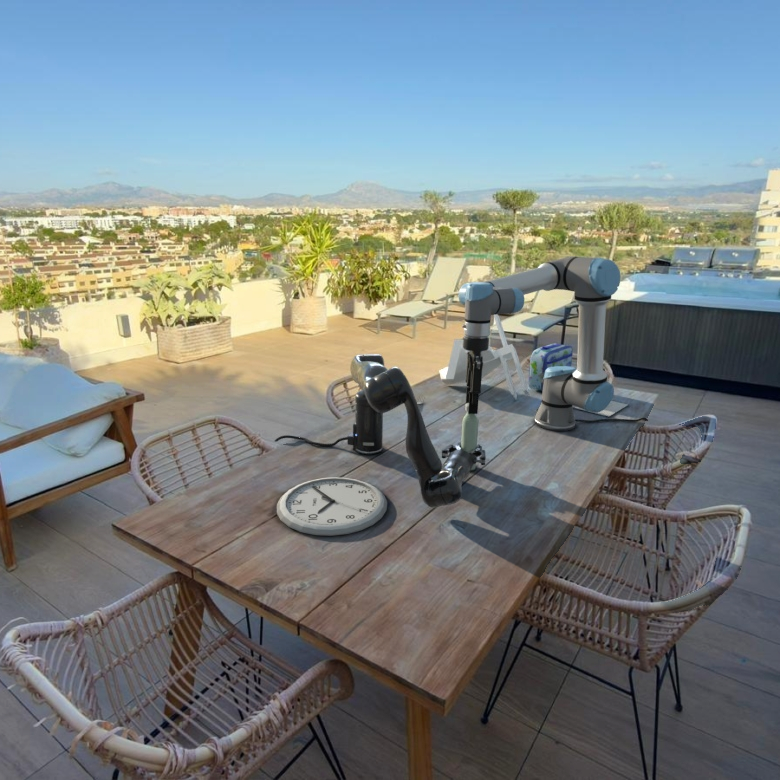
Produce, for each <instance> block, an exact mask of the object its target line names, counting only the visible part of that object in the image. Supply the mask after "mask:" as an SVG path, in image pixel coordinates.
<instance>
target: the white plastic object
mask: <svg viewBox="0 0 780 780" xmlns="http://www.w3.org/2000/svg"><path fill="white" fill-rule="evenodd" d="M493 319H494V321H495V324H496V325H495V326H496V328H497V332H498V335H499V338H500V342H501V345H502V347H500V348H498V349H496V350H495V349H493V348H492V347H491V346H490V344H489V346H488V349H487V350H486V351H482V352H481V356H482V357H483V361H482V362H483V367H482V378H481V382H482V381H484V378H485V377H486V376H487V375H489V374H490V373H492V372H494V371H495V370H496V369H497V368H499V367H500V366H502V370H503V373H504V376H505V380H506V383H507V386H508V390H509V393H510V394H511V395H512V397H513V398H514V399H515V400H517V392H516V391H517V390H516V388H515V385H514V381H513V378H512V375H511V371H510V369H509V365H508V361H510V360H513V363H514V366H515V369H516V372H517V376H518V380H519V382H520V385H521V389H522V391H523V393H524V395H525V396H526V397H528V396H531V395H530V390H529V386H528V384H527V381H526V378H525V375H524V371H523V369H522V368H523V367H522V366H521V362H520V359H519V355H518V352H517V349H516V347H515V346H514V345H513V343H511V344H508V341H507V337H506V334H505V331H504V328H503V325H502V321H501V318H500V315H499V314H496V315H493ZM467 352H470V351H469V350H465V349H464V348H463V338H460V339H458V338H454V340H453V344H452V349H451V353H450V357H449V362H448V366H446V367H444V368H442V369H440V370H439V371H438V372H439V376H440V381H442V383H443V384H444V385H445V386H449V385H458V384H467V383H466V372H467Z"/></svg>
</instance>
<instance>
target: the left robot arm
mask: <svg viewBox="0 0 780 780" xmlns="http://www.w3.org/2000/svg"><path fill="white" fill-rule="evenodd" d="M350 375H351V378H352V380H353V382H355V383H356V384H358V385H359V387H360V389H361V390H359V391H357V392H356V393H355V397H354V402H355V404H354V406H355V408H354V410H355V411H354V412H355V415H354V416H355V417H354V419H355V421H354V423H353V424H352V431H351V433H349V434H348V435H347V436H344V437H340V438H338V439H336V440H335V441H333V442H332V443H322V442H316V441H312V440H311V439H308V438H306V437H301V436H296V435H289V434H288V435H287V434H285V435H281V436H278V437H276V438H275V439H274V442H275V443H276V442H279V441H280V440H283V439H292V440H300V441H304V442H306V443H308V444H311V445H313V446H318V447H334V446H336V445H337V444H339V443H340V442H342V441H347V445H348V446H352V450H353V452H354V451H355V452H357V453H358V454H360V455H366V456H367V455H369V456H370V455H371V456H372V455H377V454H379V453H381V452H383V449H384V448H383V447H384V446H383V439H384V438H383V437H384V436H383V435H384V434H383V433H384V432H383V431H384V428H383V427H384V426H383V425H384V414H385V413H389V412H390V411H391V410H394V409H395V408H397V407H399V406H401V405H403V404H404V406H405V410H406V414H407V415H406V417H407V424H406V425H407V427H406V435H405V451H406V455H407V458H408V459H409V461H410V463H411V465H412V467H413V468H414V470H415V472H416V475H417V478H418V479H417V480H418V483H419V489H420V495H421V499H422V501H423V503H424V504H425V505H426V506H427V507H429V508H433V509H435V508H439V507H444V506H449V505H452V504H456V503H458V502H459V501H460V500H461V499H462V496H463V494H462V493H463V492H462V487H463V486H462V484H463V483H464V482H465V480H466V479H467V477H468V476H469V475H470V473H471V471H472V470H471V468H472V467H473V465H474V464H477V463H478V464H480V465H481V466H485V465H486V458H487V457H486V456H487V455H486V450H485V449H483V446H482V445H481V444H480V443H479V444H478V443H477V447H476V449H472V450H470V451H464V450H461V441H460V442H458V443H456V444H455V445H453V444H449V445H447V446H446V447H444V448H443V449H442V450H441V458H442V459H445V461H444V462H442V460H441V458H440V456H439V454H438V453H437V450H436V448H435V445H434V444H433V442H432V440H431V438H430V436H429V433H428V429H427V428H426V423H425V421H424V418H423V415H422V413H421V409H420V407H419V404H418V403H417V402H418V400H417V399H416V396H415V393H414V391H413V389H412V385H411V384H410V382H409V380H408V378H407V376H406V375H405V373H404V371H403V370H402V369H401V368H400V367H398V366H393V367H391V368H389V369H388V368H387V367H385V360H384V357H383V355H381V354H379V353H378V354H377V353H376V354H375V353H373V354H356V355H354V357H352V359H351V361H350ZM299 437H300V438H299ZM434 477H436V479H433V478H434Z"/></svg>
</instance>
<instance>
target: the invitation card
mask: <svg viewBox="0 0 780 780" xmlns="http://www.w3.org/2000/svg"><path fill="white" fill-rule="evenodd" d="M628 406H629V404H627V403H623V402H618V401H614V400H611V402H610V403H609V405H608V406H607V407H606V408H605V409H604V410H602V411H601V412H597V413H594V412H591V411H586V410H584V409H582V408H579V407H576V406H574V407H573V409H575V410H581V411H584V412H587V413H593V414H596V415H600V416H604V417H608V418H609V417H611V416H613V415H614V414H616V413H617V412H619V411H621V410H623V409H624V408H626V407H628Z"/></svg>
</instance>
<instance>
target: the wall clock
mask: <svg viewBox="0 0 780 780" xmlns="http://www.w3.org/2000/svg"><path fill="white" fill-rule="evenodd" d="M387 509H388V500H387V498H386V496H385V494H384V493H383V492H382V491H381V490H380V489H379V488H377V487H376V486H374V485H372V484H371V483H369V482H365V481H362V480H359V479H355V478H349V477H338V476H337V477H335V476H333V477H332V476H331V477H322V478H317V479H312V480H307V481H305V482H302V483H299V484H297V485H295V486H293V487H292V488H290V489H288V490H287V491H286V492H285V493H284V494H283V495H281V496H280V498H279V499H278V502H277V503H276V515H277V517H278V518H279V520H280V521H281V522H282V523H283V524H285V525H286V526H287V527H288V528H290V529H293V530H295V531H297V532H299V533H303V534H308V535H312V536H327V537H328V536H329V537H331V536H332V537H333V536H342V535H350V534H352V533H356V532H361V531H363V530H366V529H368V528H369V527H372V526H373V525H375V524H376V523H378V522H379V521H380V520H381V519H382V518H383V517H384V516H385V514H386V512H387Z"/></svg>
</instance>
